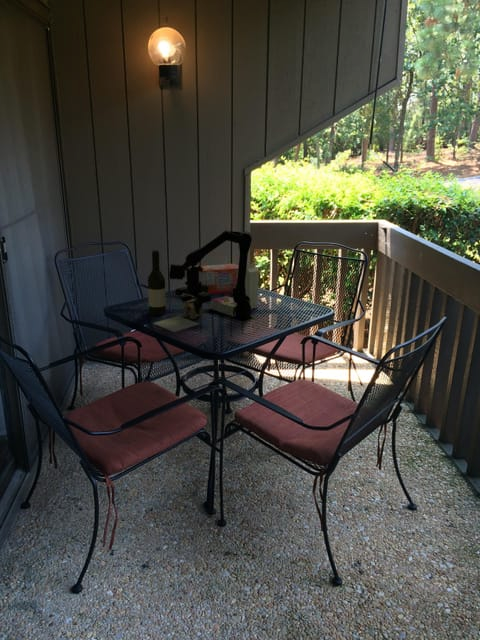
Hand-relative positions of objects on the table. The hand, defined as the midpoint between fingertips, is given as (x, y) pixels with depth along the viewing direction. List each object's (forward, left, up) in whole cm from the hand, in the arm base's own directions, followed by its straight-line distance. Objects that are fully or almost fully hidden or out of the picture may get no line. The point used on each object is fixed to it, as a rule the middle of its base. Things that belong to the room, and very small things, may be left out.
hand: (193, 312), depth 229 cm
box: (+24, -39, -2) cm, 46 cm away
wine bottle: (+15, +9, -2) cm, 18 cm away
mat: (-3, +13, -2) cm, 13 cm away
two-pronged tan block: (0, 0, -2) cm, 2 cm away
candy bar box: (+3, -18, +1) cm, 18 cm away
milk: (-9, -29, -2) cm, 30 cm away
